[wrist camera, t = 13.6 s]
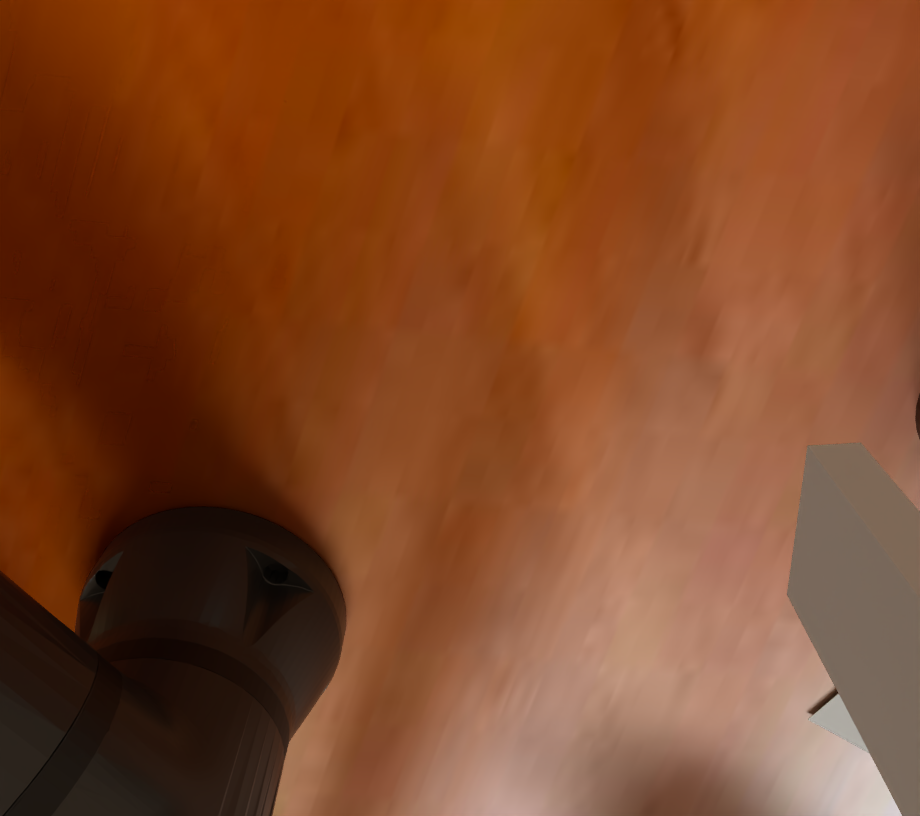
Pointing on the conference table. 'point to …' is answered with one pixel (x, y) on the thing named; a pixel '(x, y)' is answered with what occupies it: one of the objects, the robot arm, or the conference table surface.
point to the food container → (918, 417)
